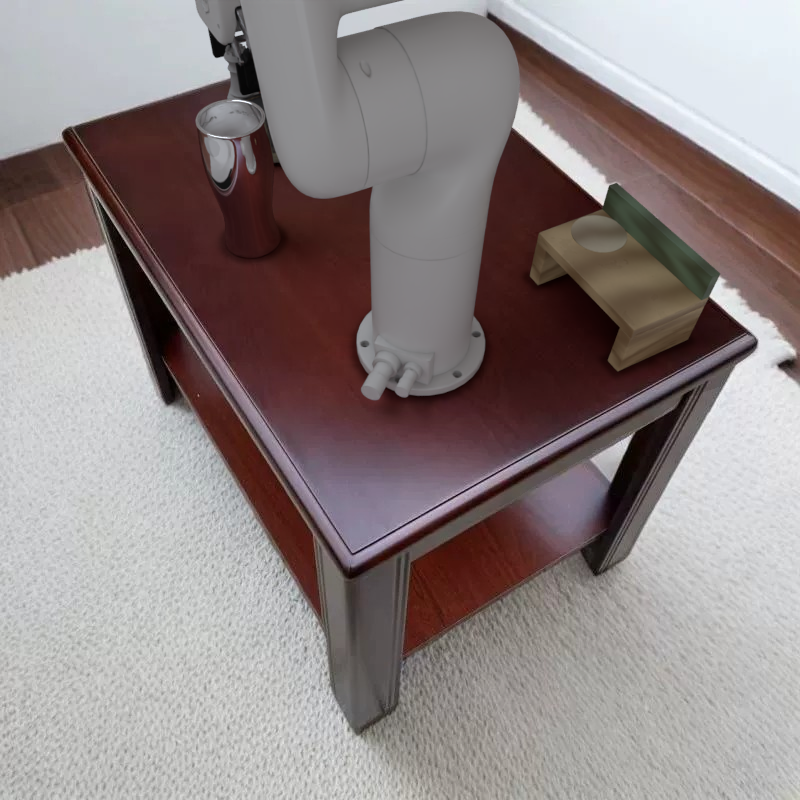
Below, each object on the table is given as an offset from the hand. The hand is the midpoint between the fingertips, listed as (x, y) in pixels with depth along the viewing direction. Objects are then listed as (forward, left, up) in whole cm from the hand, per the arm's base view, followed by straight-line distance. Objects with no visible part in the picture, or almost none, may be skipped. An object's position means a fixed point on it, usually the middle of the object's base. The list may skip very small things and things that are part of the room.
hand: (238, 72), depth 94 cm
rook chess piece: (0, 0, -5) cm, 5 cm away
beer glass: (-23, -14, -5) cm, 27 cm away
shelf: (-17, -53, -5) cm, 56 cm away
